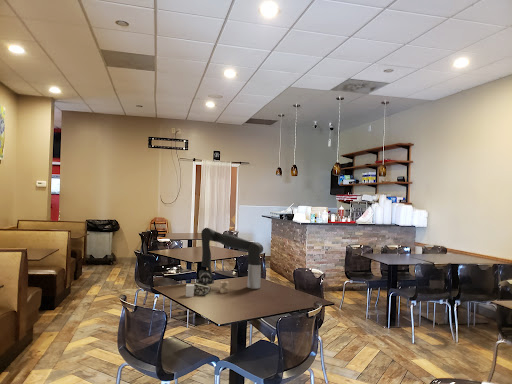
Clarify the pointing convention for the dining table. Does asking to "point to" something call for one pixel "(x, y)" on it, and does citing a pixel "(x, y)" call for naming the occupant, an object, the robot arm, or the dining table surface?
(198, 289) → the food container
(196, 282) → the robot arm
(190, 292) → the grey block
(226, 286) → the birch block
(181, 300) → the dining table surface
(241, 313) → the dining table surface
